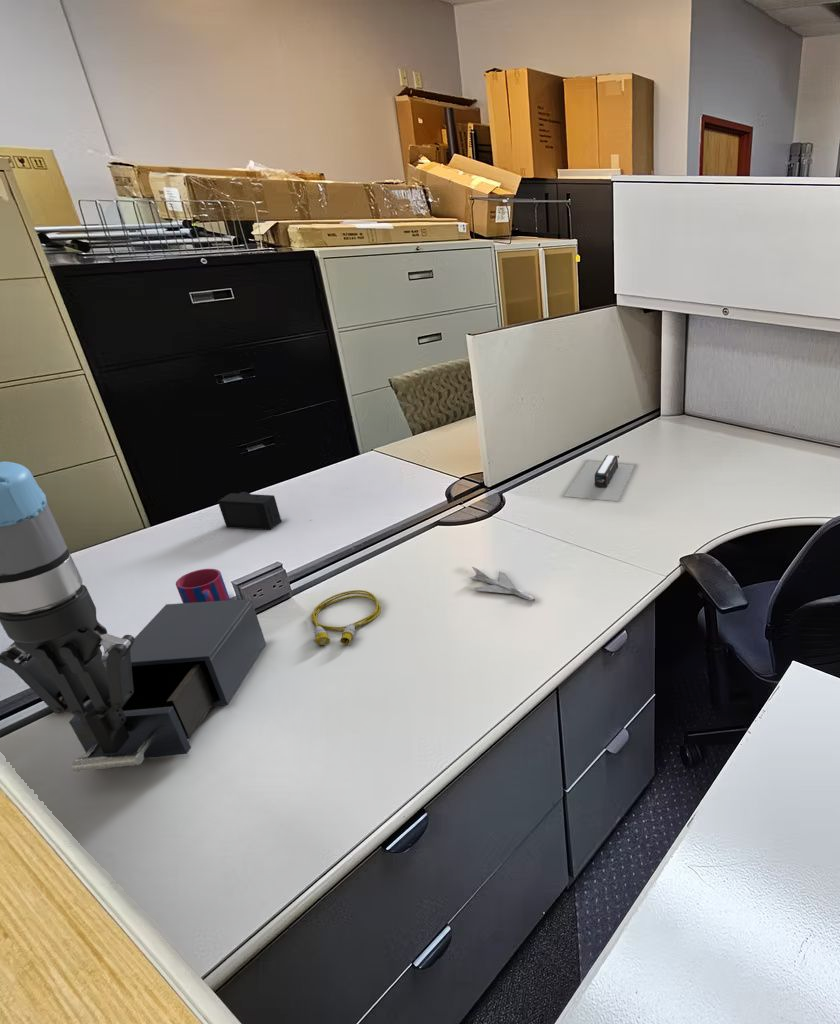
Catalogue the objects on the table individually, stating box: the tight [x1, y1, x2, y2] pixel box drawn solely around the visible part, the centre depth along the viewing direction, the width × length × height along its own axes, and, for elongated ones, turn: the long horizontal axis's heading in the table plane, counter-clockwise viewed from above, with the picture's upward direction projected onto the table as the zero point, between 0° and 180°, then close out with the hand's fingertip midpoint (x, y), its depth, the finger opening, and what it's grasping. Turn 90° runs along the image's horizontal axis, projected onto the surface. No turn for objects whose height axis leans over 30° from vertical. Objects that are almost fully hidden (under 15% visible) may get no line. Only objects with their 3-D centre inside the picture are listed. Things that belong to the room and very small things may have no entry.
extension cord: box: [310, 589, 381, 646], centre depth 114 cm, size 12×16×2 cm
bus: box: [564, 454, 636, 502], centre depth 174 cm, size 14×25×4 cm, turn 174°
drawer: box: [68, 661, 219, 772], centre depth 86 cm, size 18×11×8 cm, turn 11°
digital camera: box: [217, 491, 282, 531], centre depth 143 cm, size 10×5×7 cm, turn 89°
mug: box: [175, 568, 231, 603], centre depth 113 cm, size 7×10×7 cm
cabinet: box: [130, 598, 267, 707], centre depth 98 cm, size 15×13×10 cm
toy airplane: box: [465, 566, 536, 602], centre depth 126 cm, size 8×21×2 cm, turn 60°
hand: (117, 744), depth 81 cm, fingers closed
